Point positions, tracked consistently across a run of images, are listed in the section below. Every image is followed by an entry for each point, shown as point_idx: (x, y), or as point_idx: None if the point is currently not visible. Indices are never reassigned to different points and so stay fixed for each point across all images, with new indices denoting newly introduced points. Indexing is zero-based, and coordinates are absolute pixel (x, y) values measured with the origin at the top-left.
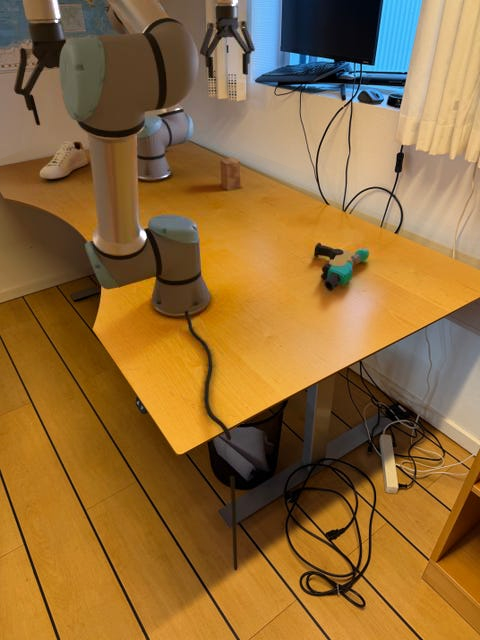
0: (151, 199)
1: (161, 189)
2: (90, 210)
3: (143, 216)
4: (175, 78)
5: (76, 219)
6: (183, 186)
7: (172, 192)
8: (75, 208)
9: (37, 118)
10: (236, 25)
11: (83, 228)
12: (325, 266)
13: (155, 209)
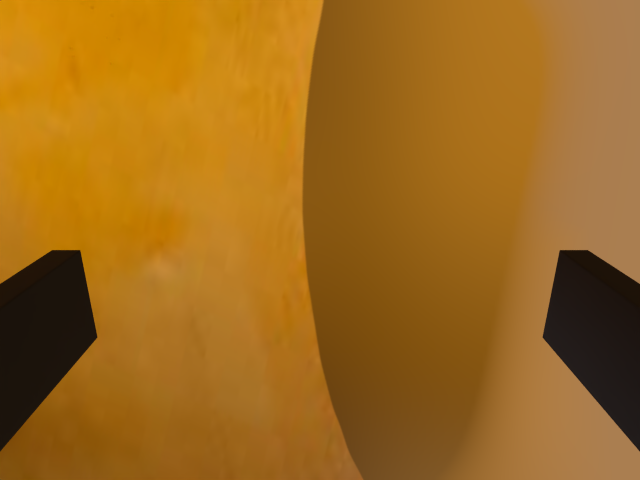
0: (105, 414)
1: (68, 458)
2: (268, 419)
3: (146, 330)
4: None
5: (311, 386)
6: (5, 452)
7: (42, 430)
8: (300, 444)
9: (606, 273)
10: None
11: (306, 332)
12: None
13: (107, 355)
